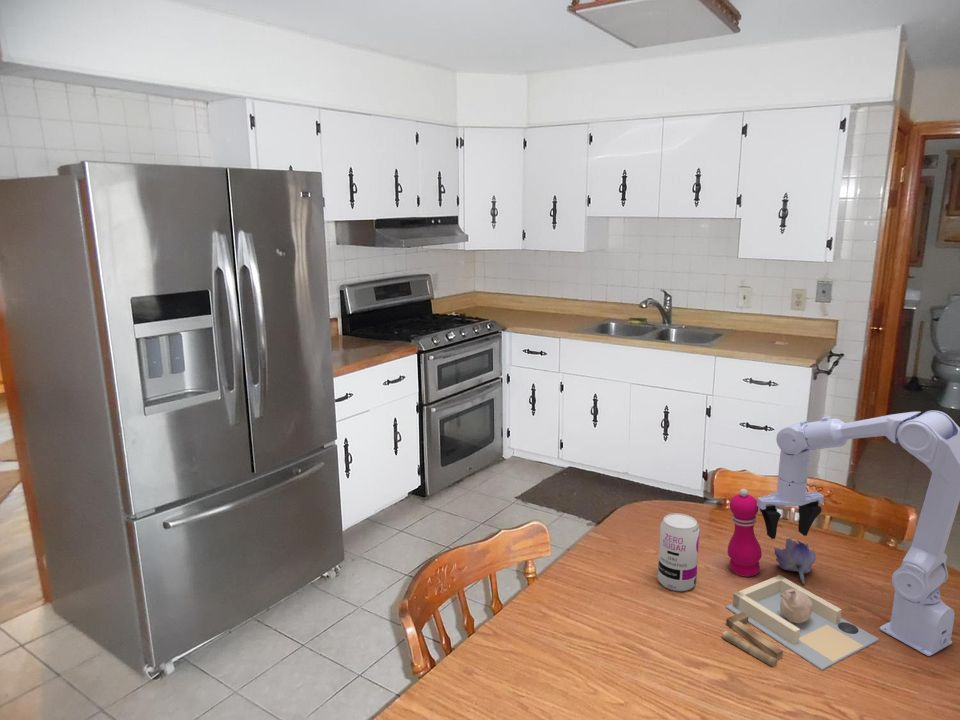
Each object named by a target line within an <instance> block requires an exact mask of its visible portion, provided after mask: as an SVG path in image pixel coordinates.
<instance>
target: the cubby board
mask: <svg viewBox="0 0 960 720" xmlns="http://www.w3.org/2000/svg"><path fill="white" fill-rule="evenodd" d="M789 589H796V590H799V591H801V592H802V593H804V594H805V595H806V596H808V597H809V598H810V599H811V601H812V603H813V611H812V614H811V616H810V618H809V619H808V620H807V621H805V622H803V623H798V624H797V623H792V622H790V621H789V620H788V619H787V618H786V617H785V616H784V615H783V614H782V613H781V610H780V598H781V595H782V594H783V593H784V592H785V591H786V590H789ZM732 597H733V600H732V603H731V604H728V605H726V606H725V609H727V610H729V611H730V612H731V613H733V614H734V615H737V614H739V613H742V612H743V613H744V614H746V615H747V616H749V618H748V623H747V624H750V625H752V626H754V627H755V628H756V629H758V630H760V631H761V632H762V633H764V634H766V635H767V636H768V637H770V638H771V639H773V640H775V641H776V642H778V643H780V644H781V645H782V646H783V647H785V648H787V649H789V650H790V651H792V652H793V653H795V654H796V655H797V656H799V657H801V658H802V659H804V660H806V662H808V663H810V664H811V665H812V666H815V667H816V668H818V669H819V670H821V671H824V670H825V669H828V668H830V667H832V666H833V665H836V664H837V663H839V662H840V661H842V660H843V661H844V659H846V658H848V657H851V656H852V655H854V654H856V653H858V652H860V651H862V650H863V649H865V648H867V647H869V646H871V645H873V644H875V643H877V642H879V641H880V638H878V637H876V636H875V635H873V634H871V633H869V632H868V631H866V630H865V629H862V628H861V627H858V626H857V625H856V624H853V623H851V622H850V621H848V620H846V619H845V618H843V617H842V611H843V609H841V608H840V607H838V606H836V605H834V604H833V603H830V601H827V600H825V599H824V598H822V597H820V596H818V595H816V594H814V593H813V592H811V591H809V590H808V589H806V588H804V587H802V586H800V585H798V584H797V583H795V582H792V581H791V580H789V579H787V578H785V577H784V576H782V575H780V574H778V575H775V576H773V577H771V578H769V579H767V580H764V581H761V582H758V583H756V584H753V585H751V586H748V587H746V588H744V589H741V590H739V591H736V592H734V593H733V596H732Z"/></svg>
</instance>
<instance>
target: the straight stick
mask: <svg viewBox="0 0 960 720" xmlns="http://www.w3.org/2000/svg"><path fill="white" fill-rule="evenodd" d="M721 637H722V638H723V639H724V640H725V641H727V642H729V643H730V644H732V645H734V646H735V647H737V648H739V649H741V650H742V651H744V652H746V653H748V654H749V655H751V656H753V657H755V658H756V659H758V660H760V661H761V662H763V663H765V664H767V665H768V666H771V667H772V668H774V667H775V666H776V665H777V663H778V660H777V659H776V658H774V657H772V656H770V655H769V654H767V653H766V652H764V651H763V650H761V649H760V648H758V647H757V646H755V645H754V644H752V643H751V644H750V643H749V642H747V641H745V640H744V639H741V638H740V637H738V636H736V635H735V634H733V633H732V632H729V631H728V630H724V631H722V634H721Z"/></svg>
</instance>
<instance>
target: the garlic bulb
mask: <svg viewBox="0 0 960 720" xmlns="http://www.w3.org/2000/svg"><path fill="white" fill-rule="evenodd" d="M780 610H781V613H782V614H783V615H784V616H785V617H786V618H787V619H788V620H789V621H790V622H792V623H797V624H798V623H803V622H805V621H807V620H808V619H809V618H810V616H811V614H812V611H813V603H812V601H811V599H810V598H809V597H808V596H806V595H805V594H804V593H802V592H801V591H799V590H796V589H789V590H786V591H785V592H784V593H783V594H782V595H781V598H780Z"/></svg>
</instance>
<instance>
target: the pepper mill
mask: <svg viewBox="0 0 960 720" xmlns="http://www.w3.org/2000/svg"><path fill="white" fill-rule="evenodd" d="M729 509H730V512H731V513H732V515H731V517H732V518H731V520H732V522H733V524H734V531H733V535H732V537H730V538H731V539H730V540H729V543H728V545H727V555H728V557H729V558H730V560H729V568H730V570H731V571H732V573H733V574H735V575H737V576H741V577H753V576H756V575H758V573H759V572H760V562H759V561H760V560H761V559H762V555H763V553H762V548H761V545H760V543H759V541H758V539H757V537H756V535H755V531H754V530H755V529H754V527H755V524H756V523H757V514H758V512H759V507H758V506H757V499H756V498H755V497H754V496H753V495H751V494H749V491H748V489H746V488H741V489H740V490H739V493H737V494H735V495H733V496H732V498H731V499H730V501H729Z"/></svg>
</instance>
